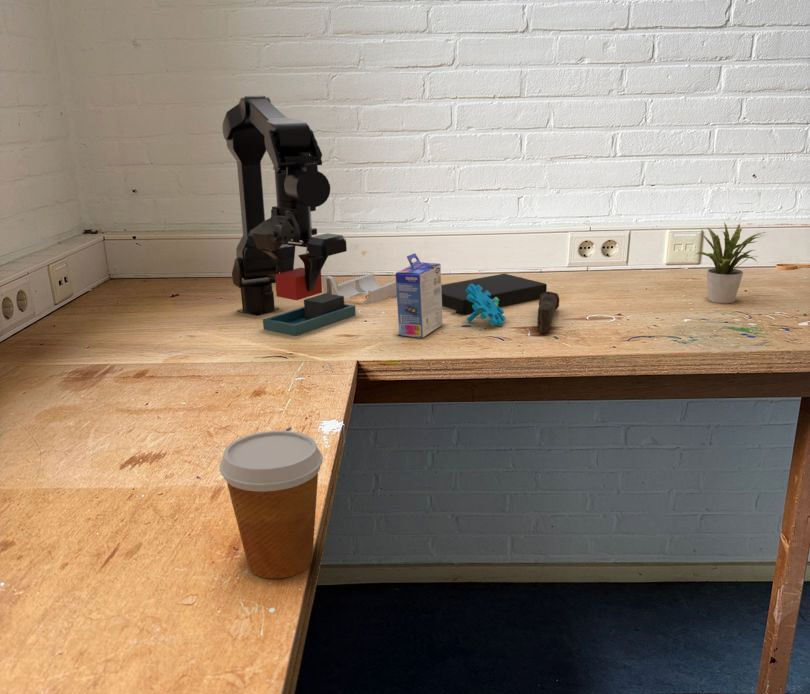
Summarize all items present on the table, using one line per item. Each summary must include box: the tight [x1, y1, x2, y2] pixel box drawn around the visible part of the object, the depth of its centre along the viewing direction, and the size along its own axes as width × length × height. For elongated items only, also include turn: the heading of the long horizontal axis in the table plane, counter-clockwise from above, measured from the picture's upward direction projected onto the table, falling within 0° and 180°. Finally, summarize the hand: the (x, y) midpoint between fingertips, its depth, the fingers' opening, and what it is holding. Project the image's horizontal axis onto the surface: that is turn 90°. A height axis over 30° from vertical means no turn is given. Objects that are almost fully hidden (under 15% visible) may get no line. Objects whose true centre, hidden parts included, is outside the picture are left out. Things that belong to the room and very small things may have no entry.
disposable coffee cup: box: [219, 430, 324, 579], centre depth 76 cm, size 10×10×12 cm
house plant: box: [695, 221, 766, 304], centre depth 164 cm, size 14×14×16 cm
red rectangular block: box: [275, 267, 323, 301], centre depth 141 cm, size 5×6×4 cm
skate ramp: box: [321, 270, 397, 305], centre depth 180 cm, size 15×13×5 cm
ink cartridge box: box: [395, 252, 444, 339], centre depth 150 cm, size 10×6×14 cm, turn 155°
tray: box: [262, 303, 357, 337], centre depth 158 cm, size 9×18×2 cm, turn 144°
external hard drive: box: [441, 273, 548, 315], centre depth 174 cm, size 14×23×3 cm, turn 124°
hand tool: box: [537, 290, 560, 334], centre depth 155 cm, size 19×4×5 cm, turn 164°
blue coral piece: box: [465, 284, 507, 327], centre depth 156 cm, size 11×6×10 cm
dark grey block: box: [303, 293, 345, 320], centre depth 161 cm, size 5×6×4 cm
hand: (299, 288), depth 142 cm, fingers closed on red rectangular block, 5 cm apart
